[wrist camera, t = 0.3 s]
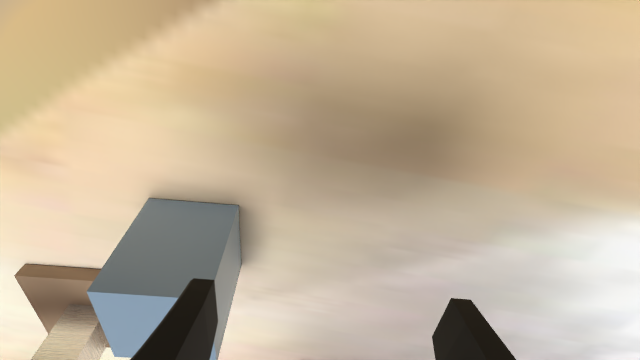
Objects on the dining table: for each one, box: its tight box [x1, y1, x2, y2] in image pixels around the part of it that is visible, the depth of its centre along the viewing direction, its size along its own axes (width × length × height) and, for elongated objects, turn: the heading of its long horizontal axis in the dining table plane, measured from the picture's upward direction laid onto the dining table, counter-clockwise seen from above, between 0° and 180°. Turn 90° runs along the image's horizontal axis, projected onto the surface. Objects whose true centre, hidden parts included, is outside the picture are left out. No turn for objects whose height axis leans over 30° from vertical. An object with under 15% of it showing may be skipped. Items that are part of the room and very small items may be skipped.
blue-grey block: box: [87, 198, 241, 360], centre depth 20 cm, size 5×5×7 cm
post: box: [31, 304, 108, 360], centre depth 24 cm, size 3×3×5 cm
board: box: [14, 264, 110, 347], centre depth 26 cm, size 8×8×1 cm
